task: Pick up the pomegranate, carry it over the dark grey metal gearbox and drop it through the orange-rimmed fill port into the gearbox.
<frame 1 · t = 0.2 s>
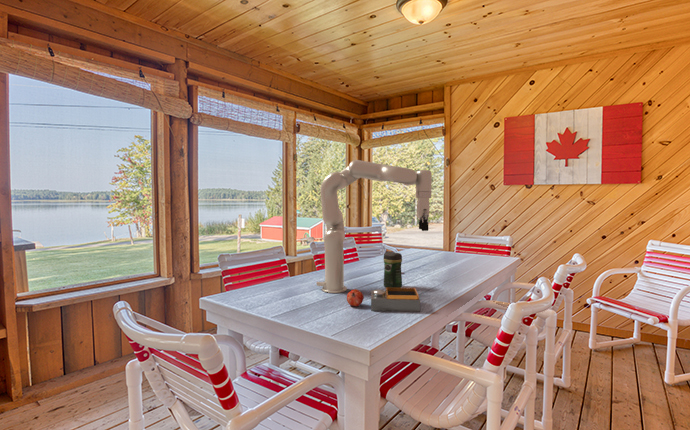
hand: (423, 229, 172), 31 cm above the table, tool pointing down, fingers open, 9 cm apart
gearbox: (394, 306, 150), on the table
pomegranate: (355, 306, 151), on the table
coffee jar: (392, 287, 183), on the table
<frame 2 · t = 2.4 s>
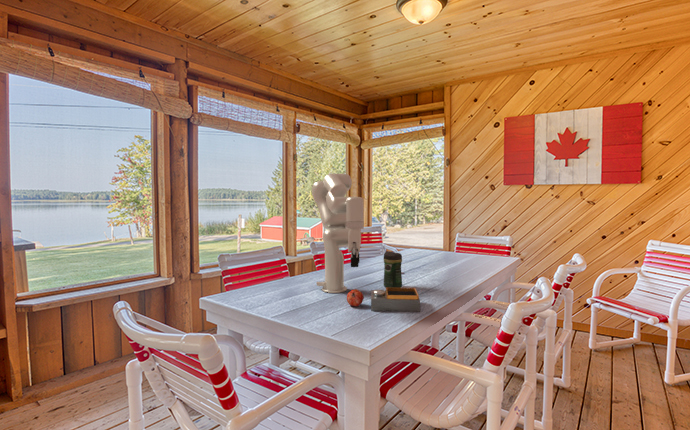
hand: (355, 264, 150), 18 cm above the table, tool pointing down, fingers open, 9 cm apart
nothing on the table moved.
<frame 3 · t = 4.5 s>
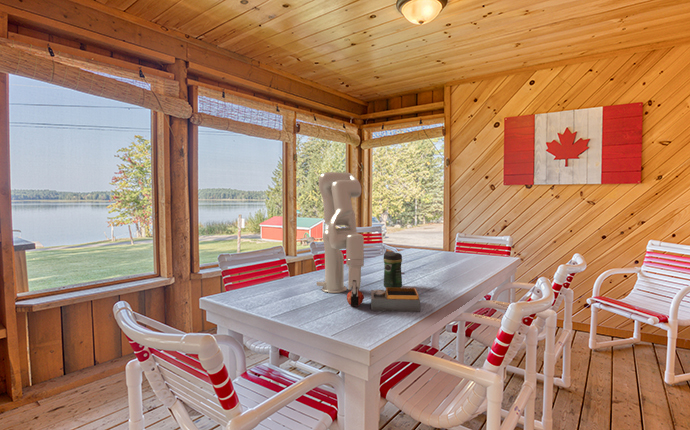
hand: (355, 302, 151), 1 cm above the table, tool pointing down, fingers closed on pomegranate, 7 cm apart
pomegranate: (355, 305, 151), on the table, touching gripper
everything else where it was.
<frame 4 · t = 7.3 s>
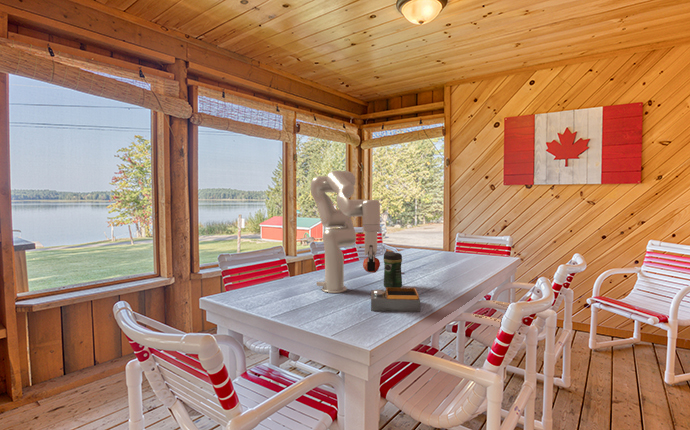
hand: (371, 269, 150), 16 cm above the table, tool pointing down, fingers closed on pomegranate, 7 cm apart
pomegranate: (371, 272, 150), point 15 cm above the table, touching gripper
everything else where it was.
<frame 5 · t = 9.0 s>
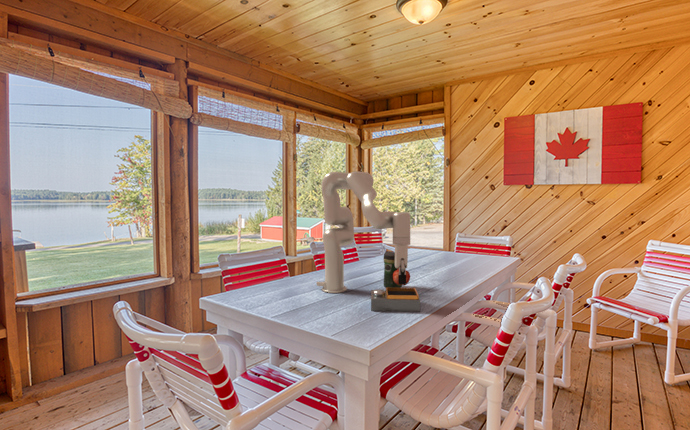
hand: (401, 281, 149), 11 cm above the table, tool pointing down, fingers closed on pomegranate, 7 cm apart
pomegranate: (401, 285, 149), point 9 cm above the table, touching gripper
everything else where it was.
when the fingers open (10 cm above the table, at t = 10.2 s): pomegranate drops 5 cm, resting on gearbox.
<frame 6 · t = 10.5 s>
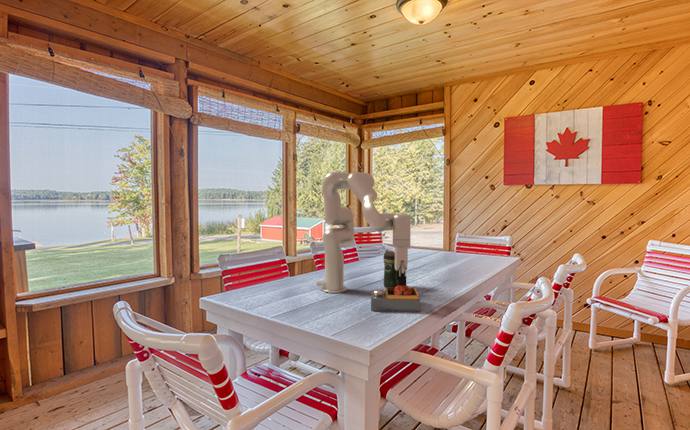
hand: (401, 282, 149), 10 cm above the table, tool pointing down, fingers open, 9 cm apart
pomegranate: (401, 298, 149), point 4 cm above the table, touching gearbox
everything else where it was.
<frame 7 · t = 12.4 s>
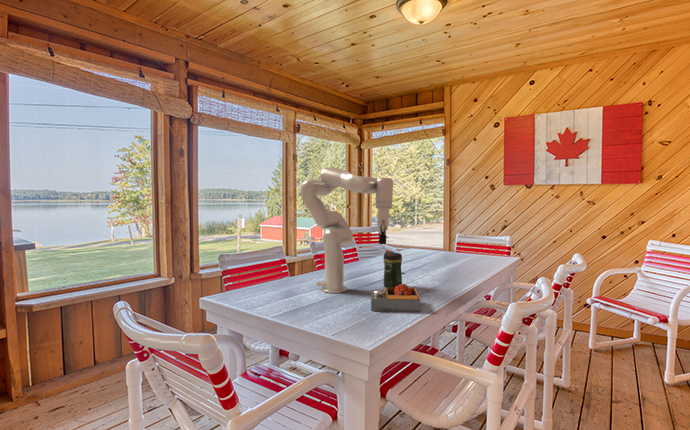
hand: (382, 242, 159), 27 cm above the table, tool pointing down, fingers open, 9 cm apart
nothing on the table moved.
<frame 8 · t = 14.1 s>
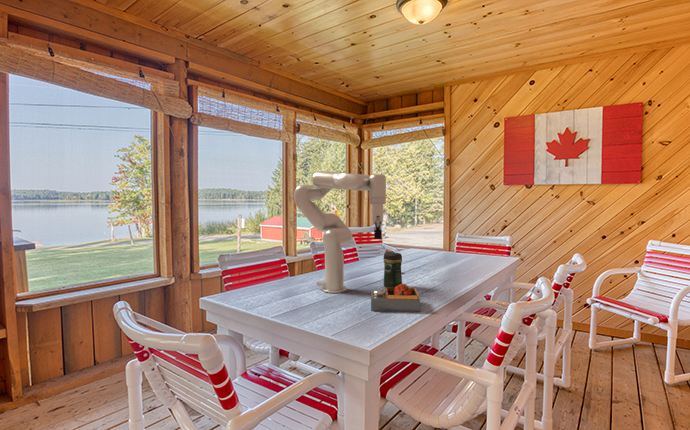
hand: (377, 237, 162), 28 cm above the table, tool pointing down, fingers open, 9 cm apart
nothing on the table moved.
at the end: pomegranate inside the target area on the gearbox (0.3 cm from its centre), point 3.6 cm above the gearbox's base; the gripper is holding nothing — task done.
